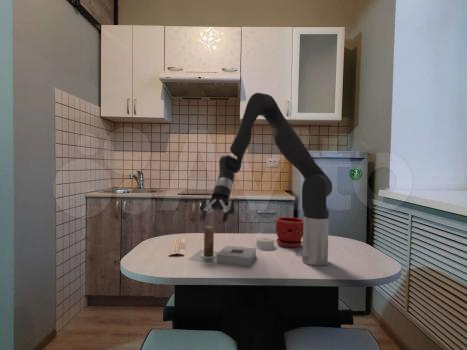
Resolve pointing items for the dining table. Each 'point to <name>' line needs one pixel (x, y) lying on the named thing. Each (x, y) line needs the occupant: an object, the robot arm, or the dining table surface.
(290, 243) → the plant pot
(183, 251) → the newspaper
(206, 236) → the walnut plug
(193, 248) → the dining table surface
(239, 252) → the socket board
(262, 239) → the mechanical component
